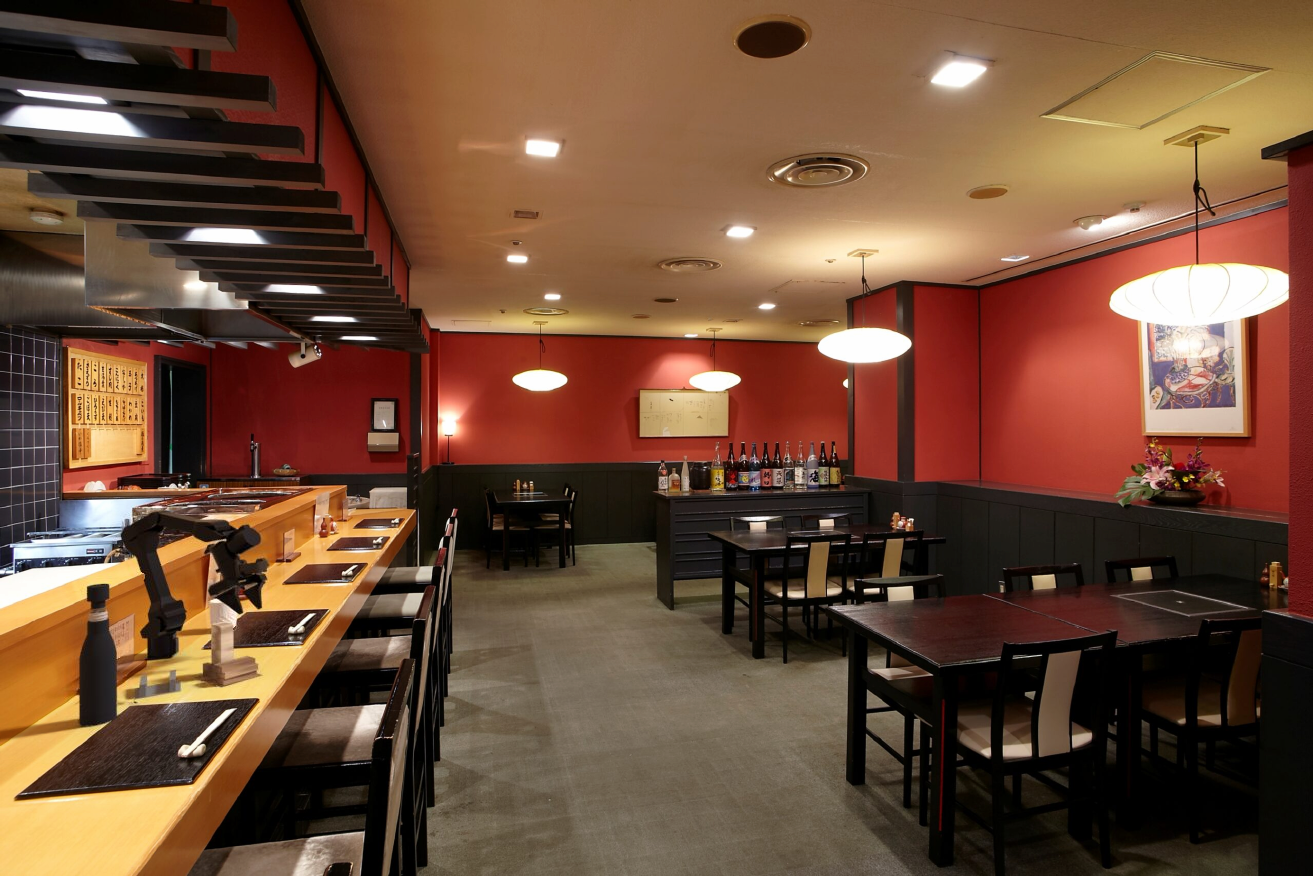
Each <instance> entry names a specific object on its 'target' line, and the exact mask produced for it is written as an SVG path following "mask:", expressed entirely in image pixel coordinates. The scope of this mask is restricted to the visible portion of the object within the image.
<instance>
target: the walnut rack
mask: <svg viewBox="0 0 1313 876" xmlns="http://www.w3.org/2000/svg"><path fill="white" fill-rule="evenodd" d="M216 676H217V671H214V664H211V662H204V663H202V675H199V676H195V677H194V679H197V680H200V681H203V682H205V683H208V684H210V685H214V686H216V687H219V688H224V687H228V686H232V685H234V684H238V683H241V682H246V681H249V680H251V679H255V678H258V677H262V676H263V674H261V673H258V672H257V676H254V677H250V678H247V679H243V680H240V681H237V682H233V683H230V684H226V685H221V684H219V683H216Z"/></svg>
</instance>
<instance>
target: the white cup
mask: <svg viewBox="0 0 1313 876" xmlns="http://www.w3.org/2000/svg"><path fill="white" fill-rule="evenodd" d="M208 602H209V603H208V604H209V605H208V606H209V618H210V619H209V620H210V625H211V624H215V623H220V622H227V623H230V624H233V628H234V627H235V626H236V627H237V620H238V613H236V612H235V611H234V610H232V609H231V608H230V607H228V606H227V605H225V604H224V603H222V602H221V601H219V600H218V599H215V598H214V599H211V600H209V601H208Z"/></svg>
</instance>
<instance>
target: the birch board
mask: <svg viewBox="0 0 1313 876" xmlns="http://www.w3.org/2000/svg"><path fill="white" fill-rule="evenodd" d="M210 627H211V628H210V633H211V637H210V638H211V639H210V641H211V643H210V644H211V648H210V649H211V650H210V651H211V652H210V653H211V656H210V658H211V662H210V663H211V664H218V663H222V662H225V661H229V660H233V659H235V658H234V650H235V649H234V630H233V624H230V623H227V622H220V623H215V624H211V623H210Z"/></svg>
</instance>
